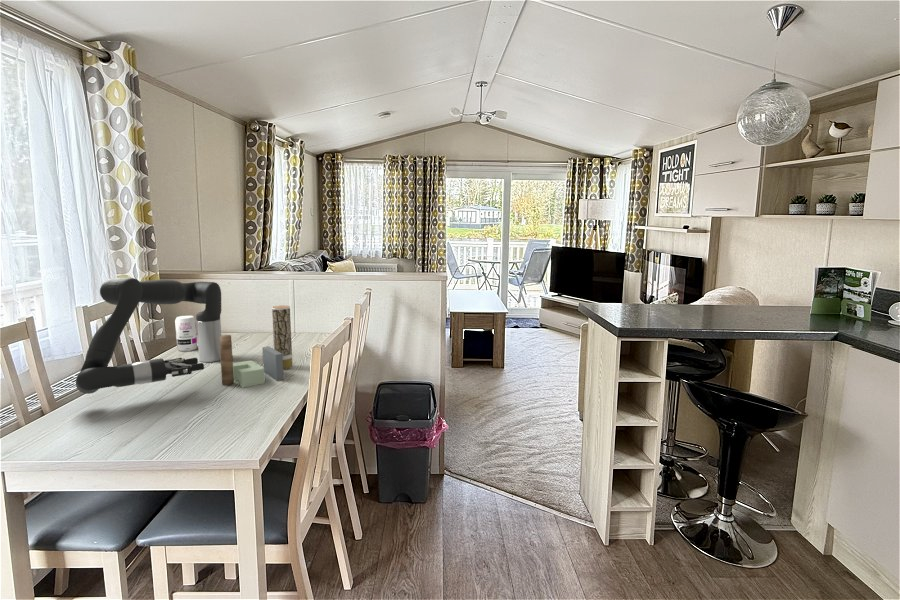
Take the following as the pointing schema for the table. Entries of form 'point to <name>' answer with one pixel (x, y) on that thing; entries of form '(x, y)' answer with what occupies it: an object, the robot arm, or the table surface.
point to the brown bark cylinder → (282, 333)
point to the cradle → (248, 373)
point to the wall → (273, 363)
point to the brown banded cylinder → (226, 360)
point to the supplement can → (186, 333)
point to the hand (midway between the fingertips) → (200, 363)
